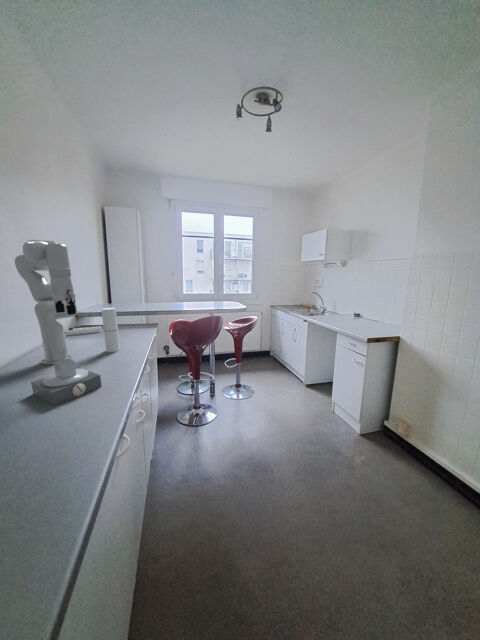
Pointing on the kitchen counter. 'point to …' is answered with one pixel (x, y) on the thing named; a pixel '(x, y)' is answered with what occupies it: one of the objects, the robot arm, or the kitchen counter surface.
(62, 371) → the steel spacer
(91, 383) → the kitchen scale
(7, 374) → the kitchen counter surface
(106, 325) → the cylindrical container
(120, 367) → the kitchen counter surface
